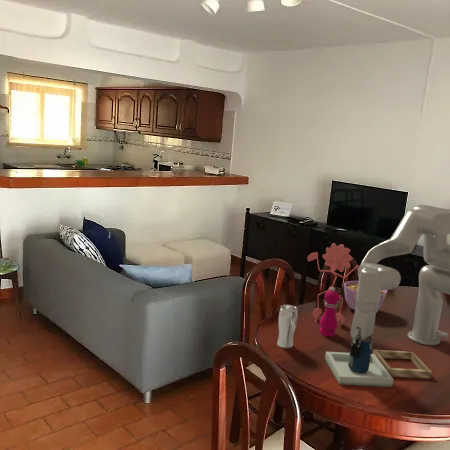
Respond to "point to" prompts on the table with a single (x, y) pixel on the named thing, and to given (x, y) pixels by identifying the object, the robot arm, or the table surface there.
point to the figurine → (336, 260)
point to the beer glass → (287, 325)
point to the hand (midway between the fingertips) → (360, 351)
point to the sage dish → (347, 377)
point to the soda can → (361, 357)
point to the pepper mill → (329, 314)
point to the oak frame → (398, 372)
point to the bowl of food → (351, 294)
